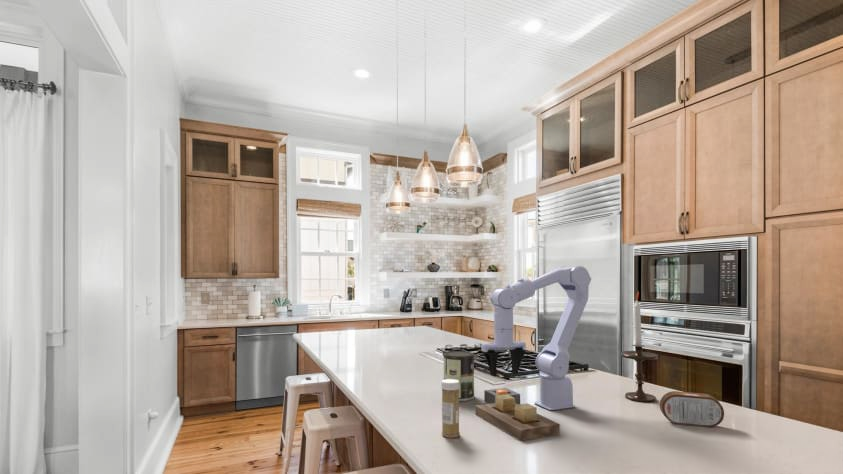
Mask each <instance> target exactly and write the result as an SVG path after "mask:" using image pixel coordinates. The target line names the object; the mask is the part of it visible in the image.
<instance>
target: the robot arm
mask: <svg viewBox="0 0 843 474" xmlns="http://www.w3.org/2000/svg"><path fill="white" fill-rule="evenodd" d="M591 280H592V278H591V276H590V273H589V271H588V269H587V268H586V267H584V266H581V265H579V266H560V267H558V268H555V269H552V270H551V271H550V270H549V271H548V272H546V273H544V274H543V275H540V276H537V277H536V278H534V279H532V280H531V279H530V280H529V279H528V278H519V279H517V282H514V283H512V284H506V285H504V288H496V289H495V290H494V291H493V292H492V293H491V297H490V300H489V301H490V303H491V305H492V306H493V325H494V326H493V331H494V332H493V333H494V334H493V336H494V337H493V338H494V339H493V342H490V343H484V344H481V345H480V346H481V347H480V348H481V349H480V350H481V352H482V354H483V356H484V358H485V361H486V364H487V366H488V369H489V373H490V376H492V377H497V369H498V368H497V363H498V357H499V353H496V351H507V350H509V353H510V360H511V372H512V374H514V375H518V374H519V370H520V365H521V363H522V360H523V359H524V357H525V354H526V348H527V346H526V345H527V344H526V341H514V308H515V306H516V304H518V303H520V302H522V301H525V300H527V299H529V298H531V297H533V296H534V295H535V293H536V291H537V290H541V289H543V288H545V287H548V286H551V285H553V284H559V286H560V287H561V289H562V290H564V292H565V293H566V295H567V296H568V300H567V302H566V305H565V307H564V309H563V311H562V314H561V316H560V319H559V321H558V323H557V326H556V328H555V331H554V333H553V335H552V337H551V339H550V342H549V343H547V344H546V345H545V346H543V348H542V350H541V352H540V353H538V355H537V356H536V358H535V367H536V369H537V370H538V372H539V373H538V374H539V395H540V396H539V398H540V400H538V401H534V403H533V404H535V405H537V406H539V407H542V408H544V409H545V410H548V411H555V410H556V411H558V410H562V409H570V408H575V407H576V405H575V404H574V394H573V393H574V390H573V389H574V388H573V382H572V379H571V378H570V377H569V376H568V375H567V374H568V372H569V369H570V368H569V365H570V360H571V356H570V353H569V351H568V349H569V347H570V345H571V343H572V339H573V337H574V335H575V332H576V331H577V328H578V325H579V323H580V321H581V318H582V315H583V313H584V310H585V308H586V306H587V303H588V301H589V286H590V283H591Z"/></svg>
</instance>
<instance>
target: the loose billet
mask: <svg viewBox="0 0 843 474" xmlns="http://www.w3.org/2000/svg"><path fill="white" fill-rule="evenodd" d="M495 410H497V411H499V412H501V413H504V412H512V411H515V398H514V397H512V396H510V395H507V394H506V395H498V396H495Z"/></svg>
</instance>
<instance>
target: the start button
mask: <svg viewBox="0 0 843 474" xmlns="http://www.w3.org/2000/svg"><path fill="white" fill-rule="evenodd" d="M499 389H500V390H496V393H497V394H499V395H502V394H508V391H507V390H502V389H501V388H499Z"/></svg>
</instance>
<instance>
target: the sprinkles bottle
mask: <svg viewBox="0 0 843 474" xmlns="http://www.w3.org/2000/svg"><path fill="white" fill-rule="evenodd" d="M441 392H442V393H441V395H442V396H441V398H442V400H441V422H442V423H441V424H442V425H441V426H442V430H441V431H442V432H441V435H442V436H443V437H445V438H450V439H452V438H453V439H454V438H457V437H459V436H460V433H461V432H460V401H459V381H458V380H455V379H445V380H444V379H442V380H441Z"/></svg>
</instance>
